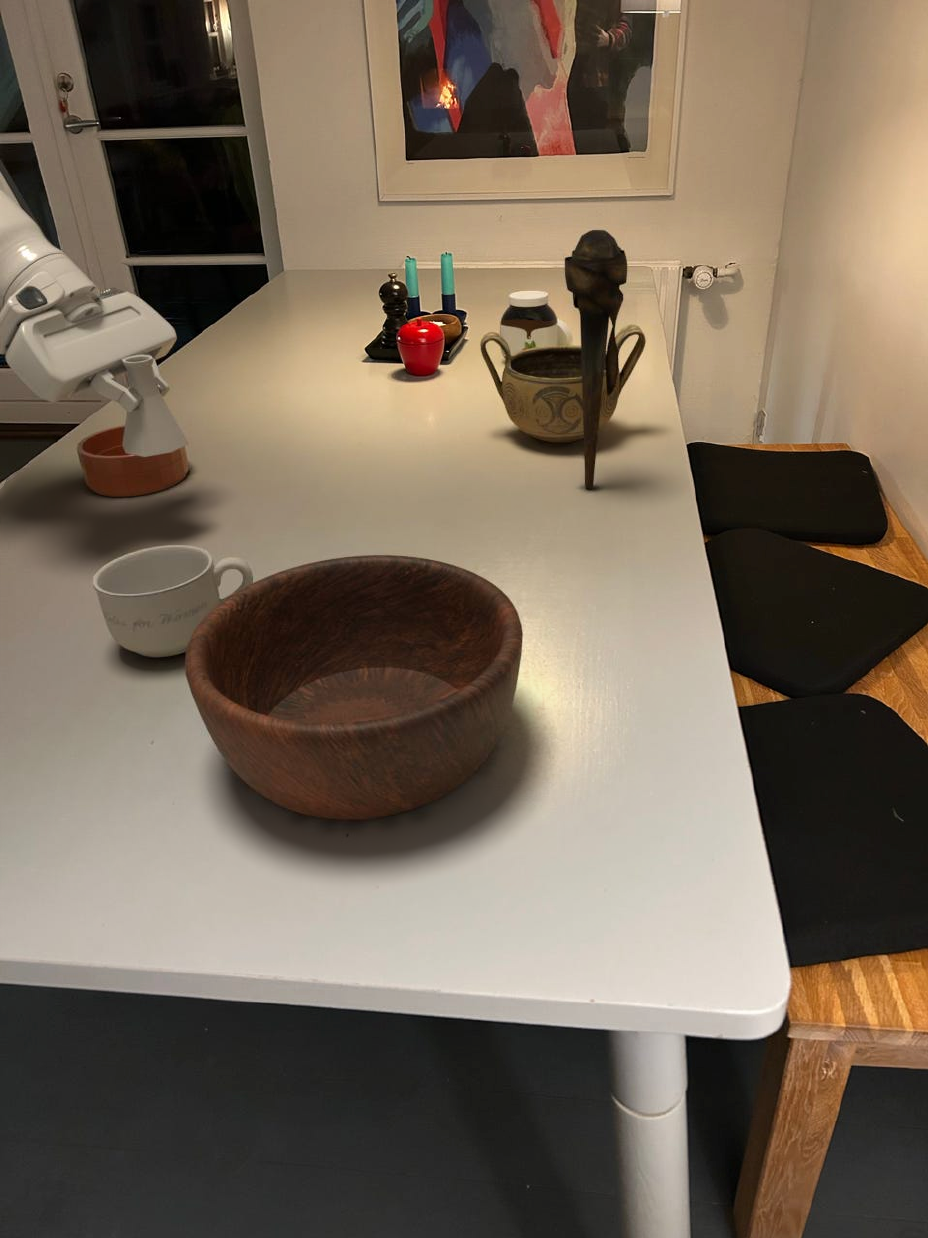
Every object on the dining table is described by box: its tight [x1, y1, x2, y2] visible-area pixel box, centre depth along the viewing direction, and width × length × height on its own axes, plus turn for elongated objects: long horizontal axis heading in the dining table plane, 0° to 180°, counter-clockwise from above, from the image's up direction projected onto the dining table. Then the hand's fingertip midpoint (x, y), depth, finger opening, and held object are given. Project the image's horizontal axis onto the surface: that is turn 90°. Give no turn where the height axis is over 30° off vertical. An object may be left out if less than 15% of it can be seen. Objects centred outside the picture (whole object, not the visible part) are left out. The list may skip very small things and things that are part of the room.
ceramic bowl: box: [480, 324, 647, 444], centre depth 127 cm, size 22×17×15 cm
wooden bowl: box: [184, 554, 524, 821], centre depth 71 cm, size 25×25×10 cm
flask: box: [122, 355, 190, 457], centre depth 101 cm, size 7×7×10 cm
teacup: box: [92, 544, 254, 658], centre depth 86 cm, size 14×11×8 cm
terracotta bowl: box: [76, 424, 190, 498], centre depth 123 cm, size 13×13×6 cm
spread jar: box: [499, 290, 574, 360], centre depth 163 cm, size 12×11×12 cm
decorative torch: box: [564, 229, 628, 489], centre depth 107 cm, size 7×7×30 cm
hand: (150, 400), depth 101 cm, fingers closed on flask, 3 cm apart
